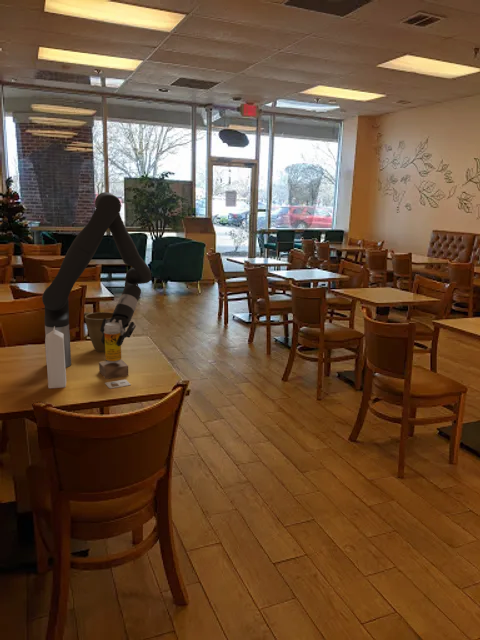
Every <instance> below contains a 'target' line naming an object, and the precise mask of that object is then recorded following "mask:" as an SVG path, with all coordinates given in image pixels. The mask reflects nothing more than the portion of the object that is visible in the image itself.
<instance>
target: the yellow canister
mask: <svg viewBox="0 0 480 640" xmlns="http://www.w3.org/2000/svg"><path fill="white" fill-rule="evenodd" d="M120 332H121V330H120V325H119V323H116V322H110V323H106V324H105V327H104V333H105V352H104V354H105V355H104V356H105V358H104V359H105V360H106V361H107V362H110V363H116V362H119V361H120V360H122V345H120V346H117V344H116V343H117V340H118V338H119V336H121V335H120Z"/></svg>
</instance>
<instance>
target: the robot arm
mask: <svg viewBox="0 0 480 640" xmlns="http://www.w3.org/2000/svg"><path fill="white" fill-rule="evenodd" d="M94 207H95V209H94V212H93V214H92V215H91V218H90V219H89V221H88V222H87V224H86V225H85V227H83V229H82V230H81V231H80V232H79V233H78V234H77V235H76V237H75V238H74V239H73V241H72V242H71V244H70V247H69V248H68V249H67V252H66V254H65V255H64V258H63V260H62V262H61V265H60V267H59V270H58V272H57V274H56V276H55V277H54V279H53V280H52V282H51V283H50V285H48V287H46V288H45V290H44V291H43V293H42V296H41V298H42V303H43V306H44V332H45V336H46V335H47V334H48V333H50V332H51V331H53V329H54V326H55V330H57V331H59V332H61V333H63V334H64V350H65V368H67V367H70V366H71V365H72V354H71V353H72V352H71V351H72V350H71V336H70V334H71V333H70V307H69V306H70V305H69V302H70V301H69V296H70V294H71V292H72V289H73V288H74V286H75V283H76V282H77V281H78V279H79V278H80V276H82V274H83V272H84V271H85V270H86V268H87V267H88V265H89V264H90V262H91V261H92V259H93V258H94V255H95V254H96V252H97V250H98V247H99V246H100V244H101V242H102V240H103V239H104V237H105V234H106V233H107V231H108V229H109V232H110V234H111V236H112V239H113V241H114V243H115V245H116V248H117V250H118V252H119V255H120V257H121V260H122V261H123V263H124V264H125V265H127V266H129V267H131V268H129V269H128V270H127V272H126V274H125V280H124V288H123V291H122V293H121V295H120V297H119V298H118V300H117V303H116V306H115V308H114V309H113V312H112V313H113V316H112V318H111V319H110V320H106V319H103V322H102V325H101V329H100V331H101V332H102V334H103V336H102V338H101V342H102V343H103V344H105V333H104V327H105V324H106V323H110V322H116V323H119V325H120V330H121V332H120V335H121V336H119V338H118V340H117V343H116V344H117V346H120V345H121V346H122V344H123V343H124V340H125V339H126V338H130V337H131V336H132V334H133V332H134V331H135V329H136V326H137V325H136V324H135V322H134V321H132V318H133V316H134V313H135V312H136V308H137V307H138V306H137V305H138V301H139V299H140V297H141V294H142V289H141V287H140V286H139V285H140V284H141V285H142V284H148V283H150V282H151V280H152V271H151V269H150V267H149V266H148V264H147V263H146V262H145V261H144V259H143V258H142V257H141V255H140V254H139V251H138V249H137V247H136V244H135V242H134V240H133V238H132V237H131V234H130V233H129V231H128V229H127V228H126V226H125V223H124V222H123V221H124V220H123V219H122V216H121V213H120V212H121V209H122V204H121V201H120V198H119V197H117V196H116V195H115V194H114V193H111V192H106V191H105V192H100V193H99V194H97V196H96V197H95V200H94ZM126 328H127V329H126ZM44 347H45V348H44V349H45V351H46V343H45V342H44ZM45 361H46V363H45V364H46V365H47V358H46V357H45Z"/></svg>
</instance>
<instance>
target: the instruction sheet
mask: <svg viewBox="0 0 480 640" xmlns="http://www.w3.org/2000/svg"><path fill="white" fill-rule="evenodd" d="M104 385H106V387H107V388H108V389H110V390H111V389H116V388H117V389H118V388H123V387H129V386H131V383H130V382H129V381H128V380H127V378H126V379H120V380H114V381H108V382H104Z"/></svg>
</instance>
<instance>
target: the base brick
mask: <svg viewBox="0 0 480 640" xmlns="http://www.w3.org/2000/svg"><path fill="white" fill-rule="evenodd" d="M98 369H99V371H98V372H99V373H100V374H101V376H102V377H103V378H104V379H105V380H108V379H115V378H120V377H126V376H129V365H128V364H127V363H126V362H125V361H124V360H123V359H121V360H120V361H119V362H116V363H110V362H107V360H106V361H99V362H98Z"/></svg>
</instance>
